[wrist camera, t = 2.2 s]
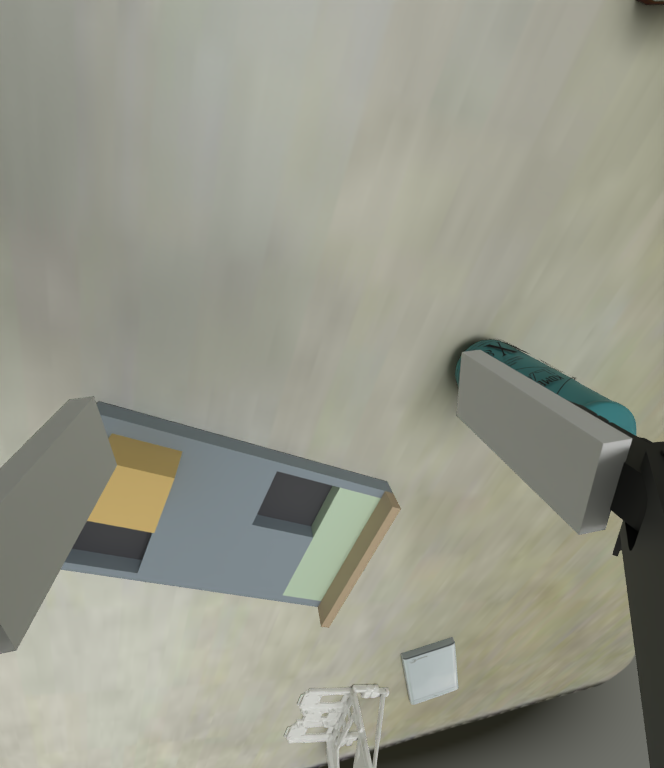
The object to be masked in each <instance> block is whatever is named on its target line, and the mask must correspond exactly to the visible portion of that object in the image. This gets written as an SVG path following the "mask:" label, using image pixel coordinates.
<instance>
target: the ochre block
mask: <svg viewBox="0 0 664 768" xmlns="http://www.w3.org/2000/svg"><path fill="white" fill-rule="evenodd" d="M108 440H109V443H110V445H111V448H112V451H113V454H114V457H115V460H116V463H117V466H116V468H115V470H114V472H113V474H112V476H111V477H110V479H109V481H108V483H107V485H106V487H105V488H104V490H103V492H102V494H101V496H100V498H99V499H98V501H97V503H96V505H95V507H94V509H93V510H92V512H91V514H90V516H89V518H88V520H87V521H91V522H97V523H102V524H107V525H113V526H118V527H124V528H129V529H134V530H140V531H145V532H151V533H155V530H156V527H157V525H158V522H159V519H160V516H161V514H162V511H163V508H164V506H165V503H166V500H167V498H168V495H169V492H170V489H171V487H172V484H173V481H174V479H175V475H176V472H177V469H178V465H179V462H180V458H181V455H182V451H179V450H175V449H171V448H167V447H163V446H159V445H155V444H152V443H148V442H144V441H140V440H136V439H132V438H128V437H124V436H120V435H116V434H113V433H112V434H111V435H110V437H109V438H108Z"/></svg>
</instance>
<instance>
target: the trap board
mask: <svg viewBox="0 0 664 768" xmlns="http://www.w3.org/2000/svg"><path fill="white" fill-rule="evenodd" d="M97 407H98V410H99V413H100V416H101V419H102V422H103V425H104V428H105V431H106V434H107V437H108V438H109V437H110V435H111V434H112V433H113V434H116V435H120V436H124V437H128V438H132V439H136V440H140V441H144V442H148V443H152V444H155V445H159V446H163V447H167V448H171V449H175V450H179V451H182V455H181V458H180V462H179V465H178V469H177V472H176V475H175V479H174V481H173V484H172V487H171V489H170V492H169V495H168V498H167V500H166V503H165V506H164V508H163V511H162V514H161V516H160V519H159V522H158V525H157V527H156V530H155V533H151V532H145V531H140V530H134V529H129V528H124V527H118V526H113V525H107V524H102V523H97V522H91V521H87V522H86V523H85V525H84V527H83V529H82V531H81V533H80V534H79V536H78V538H77V540H76V542H75V544H74V545H73V547H72V549H71V551H70V553H69V555H68V556H67V558H66V560H65V562H64V564H63V566H62V567H61V570H68V571H75V572H82V573H89V574H95V575H102V576H109V577H116V578H123V579H130V580H137V581H143V582H150V583H157V584H164V585H171V586H178V587H185V588H192V589H198V590H205V591H212V592H219V593H226V594H233V595H240V596H246V597H253V598H260V599H267V600H274V601H281V602H288V603H295V604H301V605H308V606H315V607H318V611H319V617H320V623H321V627H328V628H329V627H330V625H331V623H332V622H333V620H334V618H335V617H336V615H337V613H338V612H339V610H340V608H341V607H342V605H343V604H344V602H345V600H346V599H347V597H348V595H349V594H350V592H351V590H352V589H353V587H354V585H355V584H356V582H357V580H358V579H359V577H360V576H361V574H362V572H363V571H364V569H365V567H366V566H367V564H368V562H369V561H370V559H371V557H372V556H373V554H374V552H375V551H376V549H377V547H378V546H379V544H380V543H381V541H382V539H383V538H384V536H385V534H386V533H387V531H388V529H389V528H390V526H391V524H392V523H393V521H394V519H395V518H396V516H397V515H398V513H399V511H400V510H401V508H400V506H399V504H398V502H397V500H396V498H395V496H394V494H393V492H392V490H391V488H390V486H389V484H388V482H387V481H383V480H379V479H376V478H372V477H369V476H365V475H361V474H358V473H354V472H351V471H347V470H343V469H340V468H336V467H333V466H329V465H326V464H322V463H318V462H315V461H311V460H308V459H304V458H300V457H297V456H293V455H290V454H286V453H282V452H279V451H275V450H272V449H268V448H264V447H261V446H257V445H254V444H250V443H247V442H243V441H239V440H236V439H232V438H229V437H225V436H221V435H218V434H214V433H211V432H207V431H203V430H200V429H196V428H193V427H189V426H185V425H182V424H178V423H175V422H171V421H168V420H164V419H160V418H157V417H153V416H150V415H146V414H142V413H139V412H135V411H132V410H128V409H124V408H121V407H117V406H114V405H110V404H106V403H103V402H98V403H97Z"/></svg>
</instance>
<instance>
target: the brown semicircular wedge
mask: <svg viewBox="0 0 664 768" xmlns="http://www.w3.org/2000/svg"><path fill="white" fill-rule="evenodd" d="M637 1H639V2H642V3H644V4H646V5H664V0H637Z"/></svg>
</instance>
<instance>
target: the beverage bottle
mask: <svg viewBox="0 0 664 768" xmlns="http://www.w3.org/2000/svg"><path fill="white" fill-rule="evenodd" d="M515 348H517V347H516V346H515V347H514V346H512V345H510V344H508V342H507V343H505V341H504V342H502V341H500V339H498V340H492V339H490V340H483V341H480V342H477V343H475V344H473V345H472V346H470V347H469V348H468V349H467V350H466V351H474V350H482V351H483V352H485V353H487V354H489V355H490V356H492V357H494V358H495V359H497V360H499V361H500V362H502V363H504V364H506V365H507V366H509V367H511V368H512V369H514V370H516V371H518V372H519V373H521V374H523V375H524V376H526V377H528V378H530V379H531V380H533V381H535V382H536V383H538V384H540V385H542V386H543V387H545V388H547V389H548V390H550V391H552V392H554V393H555V394H557V395H559V396H560V397H562V398H564V399H566V400H568V401H571V402H574V403H577V404H580V405H583V406H585V407H586V408H588V409H590V410H592V411H593V412H595V413H597V415H598V416H599V415H600V416H602V417H604V418H606V419H607V420H609V422H613V423H614V424H616V425H618V426H620V427H621V428H623V429H625V430H627V431H628V432H630V433H632V434H634V435H635V436H636V422H635V419H634V416H633V415H632V413H631V412H630V411H629V410H628V409H627V408H626V407H625V406H623V405H621V404H619V403H617V402H614V401H611V400H609V399H608V398H606V397H604V396H602V395H600V394H598V393H597V392H595V391H593V390H591V389H589V388H587V387H585V386H584V385H582V384H580V383H579V382H577V381H575V378H574V377H572V378H574V379H572V378H570V377H568V376H566V375H564V374H562V372H561V371H560V370H559V371H560V372H559V371H557V370H556V369H553V368H551V367H549V366H550V364H549V366H547V365H546V364H544V363H543V362H542V360H541V362H540V361H539V360H536V359H534V358H532V357H530V356H529V355H527V354H525V353H527V352H525V351H523V350H521V351H523V352H525V353H523V352H521V351H520V349H519V348H517V349H518V350H517V349H515ZM466 351H465V352H466ZM528 354H529V353H528ZM460 367H461V357H460V359H459V361H458V363H457V366H456V371H455V377H456V382H457V384H458V385H457V386H458V387H459V379H460ZM553 367H554V366H553ZM458 389H459V388H458ZM641 439H642V440H644V441H646V442H647V443H649V444H651V443H652V442H651V441H649V440H647V439H645V438H641Z"/></svg>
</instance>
